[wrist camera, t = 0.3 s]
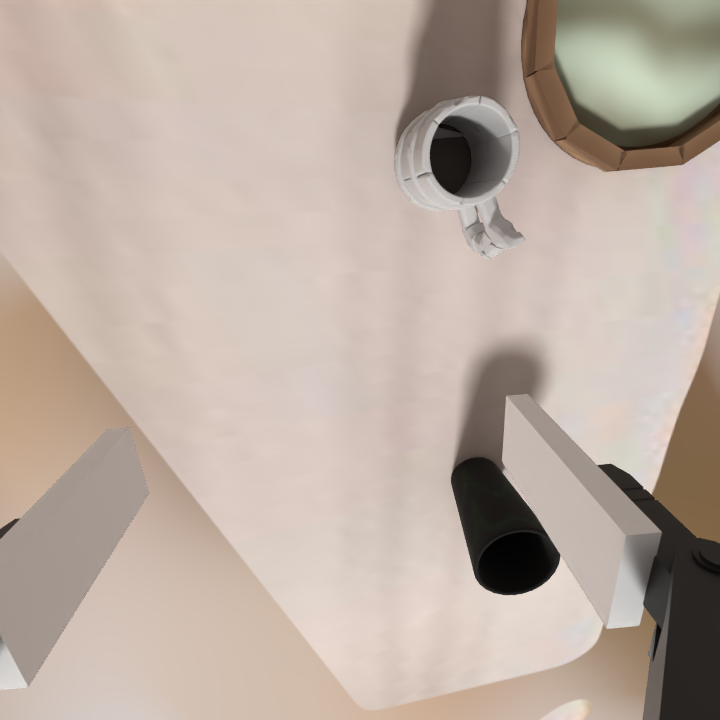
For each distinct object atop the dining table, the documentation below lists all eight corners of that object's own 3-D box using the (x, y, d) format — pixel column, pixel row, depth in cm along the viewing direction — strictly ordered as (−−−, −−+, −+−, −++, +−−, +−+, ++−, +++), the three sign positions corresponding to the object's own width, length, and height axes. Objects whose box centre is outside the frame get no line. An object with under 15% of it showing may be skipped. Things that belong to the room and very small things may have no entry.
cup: (442, 451, 47) (476, 532, 36) (511, 446, 47) (566, 525, 36) (440, 507, 50) (471, 599, 38) (505, 503, 50) (554, 592, 39)
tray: (529, -131, 30) (547, -163, 27) (809, -153, 30) (854, -186, 27) (514, 179, 37) (528, 178, 34) (740, 159, 37) (770, 156, 35)
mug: (460, 92, 34) (521, 42, 23) (510, 227, 38) (582, 241, 27) (376, 140, 35) (395, 116, 24) (434, 267, 39) (473, 297, 28)
